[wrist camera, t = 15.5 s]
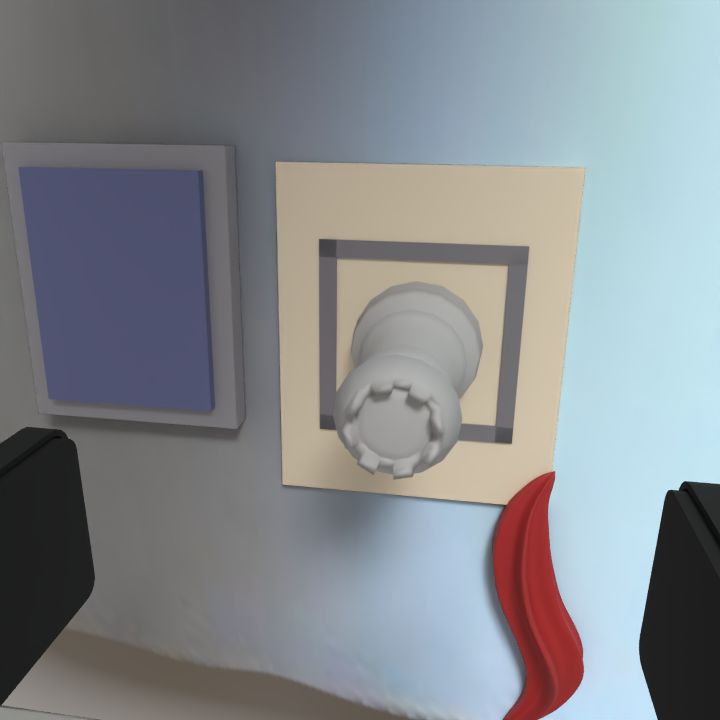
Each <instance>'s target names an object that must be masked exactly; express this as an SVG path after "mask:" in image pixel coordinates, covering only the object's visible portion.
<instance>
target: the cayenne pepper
mask: <svg viewBox="0 0 720 720" xmlns="http://www.w3.org/2000/svg"><path fill="white" fill-rule="evenodd" d="M554 481H555V471H554V472H549V473H546V474H543V475H541V476H539V477H537V478H535V479H534V480H532V481H531V482H529V483H528V484H527V485H526V486H524V487H523V488H522V489H521V490H520V491H519V492H518V493H516V494H515V495H514V496H513V497H512V499H511V500H510V501H509V502H508V504H507V505H506V507H505V508H504V510H503V512H502V514H501V516H500V519H499V521H498V524H497V527H496V531H495V534H494V539H493V567H494V576H495V583H496V589H497V593H498V597H499V601H500V603H501V606H502V609H503V612H504V614H505V616H506V619H507V621H508V623H509V626H510V628H511V630H512V632H513V634H514V637H515V639H516V641H517V644H518V646H519V649H520V651H521V654H522V657H523V660H524V663H525V667H526V682H525V686H524V690H523V692H522V694H521V696H520V698H519V700H518V701H517V702H516V704H515V705H514V706H513V708H512V709H511V710H510V711H509V713H508V714H507V715H506V716H505V718H504V719H503V720H538V719H540V718H542V717H544V716H546V715H548V714H550V713H552V712H553V711H555V710H557V709H558V708H559V707H560V706H562V705H563V704H564V703H565V702H566V701H567V700H568V699H569V698H570V697H571V696H572V695H573V694H574V693H575V691H576V690H577V688H578V687H579V685H580V683H581V681H582V678H583V673H584V666H583V660H582V659H583V648H582V643H581V640H580V637H579V634H578V632H577V630H576V627H575V625H574V623H573V621H572V620H571V618H570V616H569V614H568V612H567V610H566V608H565V606H564V604H563V602H562V599H561V597H560V594H559V590H558V587H557V583H556V578H555V574H554V569H553V564H552V559H551V552H550V541H549V526H548V504H549V498H550V494H551V491H552V488H553V484H554Z"/></svg>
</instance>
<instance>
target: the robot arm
mask: <svg viewBox="0 0 720 720" xmlns="http://www.w3.org/2000/svg"><path fill="white" fill-rule="evenodd" d="M94 580H95V573H94V566H93V559H92V552H91V545H90V538H89V531H88V524H87V517H86V510H85V503H84V496H83V489H82V483H81V476H80V469H79V462H78V455H77V449H76V445H75V443H74V441H72V440H71V439H68V437H67V435H66V434H65V432H63V431H62V430H57V429H45V428H32V427H26V428H24V429H21V430H20V431H18V432H17V433H15V434H14V435H12V436H11V437H10V438H8V439H7V440H5V441H4V442H2V443H1V444H0V720H98V719H90V718H84V717H77V716H70V715H64V714H57V713H50V712H43V711H36V710H29V709H22V708H15V707H9V706H2V704H3V702H4V701H5V700H6V699H7V698H8V696H9V695H10V694H11V693H12V691H13V690H14V689H15V688H16V686H17V685H18V684H19V683H20V681H21V680H22V679H23V678H24V677H25V675H26V674H27V673H28V672H29V670H30V669H31V668H32V667H33V665H34V664H35V663H36V662H37V661H38V659H39V658H40V657H41V656H42V654H43V653H44V652H45V651H46V650H47V648H48V647H49V646H50V645H51V643H52V642H53V641H54V640H55V639H56V637H57V636H58V635H59V634H60V632H61V631H62V630H63V629H64V628H65V626H66V625H67V624H68V623H69V621H70V620H71V619H72V618H73V616H74V615H75V614H76V613H77V612H78V610H79V609H80V608H81V607H82V605H83V604H84V603H85V602H86V600H87V599H88V598H89V596H90V594H91V592H92V590H93V586H94ZM639 655H640V662H641V666H642V670H643V673H644V676H645V679H646V683H647V686H648V689H649V692H650V696H651V699H652V702H653V705H654V709H655V712H656V715H657V719H658V720H720V484H711V483H699V482H687V481H684V482H683V483H682V484H681V486H680V488H679V491H677V490H669V491H668V492H667V494H666V497H665V501H664V506H663V512H662V517H661V523H660V528H659V534H658V539H657V545H656V550H655V556H654V561H653V567H652V572H651V578H650V584H649V589H648V595H647V600H646V606H645V611H644V617H643V622H642V628H641V633H640V640H639Z"/></svg>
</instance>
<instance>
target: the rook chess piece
mask: <svg viewBox="0 0 720 720" xmlns="http://www.w3.org/2000/svg"><path fill="white" fill-rule="evenodd" d="M482 350H483V342H482V337H481V332H480V326H479V322H478V320H477V319H476V317H475V316H474V314H473V313H472V311H471V310H470V308H469V307H468V305H467V304H466V302H465V301H464V300H463V299H461V298H460V297H458V296H457V295H455V294H454V293H452V292H451V291H449V290H447V289H446V288H444V287H443V286H439V285H434V284H429V283H423V282H418V281H415V282H410V283H405V284H400V285H395V286H391V287H389V288H388V289H386V290H385V291H383V292H382V293H380V294H379V295H377V296H376V297H374V298H373V299H371V300H370V301H369V303H368V305H367V306H366V308H365V309H364V311H363V312H362V314H361V315H360V317H359V318H358V320H357V323H356V327H355V328H354V334H353V340H352V346H351V356H352V360H353V364H354V368H355V369H354V370H352V371H350V372H349V374H348V375H347V377H346V378H345V380H344V381H343V383H342V384H341V386H340V387H339V389H338V390H337V392H336V398H335V404H334V410H333V418H334V422H335V426H336V429H337V433H338V437H339V439H340V440H341V442H342V443H343V444H344V446H345V449H346V448H347V450H348V451H349V452H350V454H351V455H352V457H354V458H355V459H357V460H358V462H357V465H358V466H360V467H361V468H363V469H365V470H366V471H368V472H369V473H371V474H372V475H374V473H375V471H379V472H383V473H388V474H392V475H393V480H395V479H402V478H409V477H413V475H414V473H421V472H424V471H425V470H427V469H429V468H431V467H432V466H434V465H436V464H438V463H440V462H441V461H443V460H444V459H445V457H446V456H447V455H448V453H449V452H450V451H451V449H452V448H453V447H454V445H455V444H456V443H457V441H458V436H459V432H460V428H461V423H462V419H463V418H462V413H461V408H460V403H459V399H460V398H461V397H462V396H463V394H464V393H465V392H466V390H467V389H468V388H469V386H470V385H471V384H472V382H473V381H474V380H475V378H476V375H477V371H478V367H479V363H480V358H481V354H482Z"/></svg>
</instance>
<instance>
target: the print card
mask: <svg viewBox="0 0 720 720" xmlns="http://www.w3.org/2000/svg"><path fill="white" fill-rule="evenodd" d="M584 177H585V168H584V167H532V166H479V165H426V164H373V163H320V162H276V203H277V249H278V295H279V341H280V387H281V432H282V478H283V485H294V486H305V487H316V488H327V489H338V490H349V491H360V492H371V493H382V494H393V495H404V496H415V497H426V498H437V499H448V500H459V501H470V502H481V503H492V504H503V505H507V504H508V502H509V501H510V500H511V499H512V497H513V496H514V495H515V494H516V493H518V492H519V491H520V490H521V489H522V488H523V487H524V486H526V485H527V484H528V483H529V482H531V481H532V480H534V479H535V478H537V477H539V476H541V475H543V474H546V473H549V472H552V468H553V459H554V449H555V440H556V431H557V422H558V413H559V404H560V395H561V386H562V377H563V368H564V359H565V350H566V341H567V331H568V322H569V313H570V304H571V295H572V286H573V277H574V268H575V259H576V250H577V241H578V232H579V223H580V213H581V204H582V195H583V186H584ZM415 281H418V282H423V283H429V284H434V285H439V286H443V287H444V288H446V289H447V290H449V291H451V292H452V293H454V294H455V295H457V296H458V297H460V298H461V299H463V300H464V301H465V302H466V304H467V305H468V307H469V308H470V310H471V311H472V313H473V314H474V316H475V317H476V319H477V320H478V322H479V326H480V332H481V337H482V342H483V350H482V354H481V358H480V363H479V367H478V371H477V375H476V378H475V380H474V381H473V382H472V384H471V385H470V386H469V388H468V389H467V390H466V392H465V393H464V394H463V396H462V397H461V398H460V399H459V403H460V408H461V413H462V418H463V419H462V423H461V428H460V432H459V436H458V441H457V443H456V444H455V445H454V447H453V448H452V449H451V451H450V452H449V453H448V455H447V456H446V457H445V459H444V460H443V461H441V462H440V463H438V464H436V465H434V466H432V467H431V468H429V469H427V470H425V471H424V472H421V473H414V475H413V477H409V478H402V479H395V480H393V475H392V474H388V473H383V472H379V471H375V473H374V475H372V474H371V473H369V472H368V471H366V470H365V469H363V468H361V467H360V466H358V465H357V462H358V460H357V459H355V458H354V457H352V455H351V454H350V452H349V451H348V450H347V448H346V449H345V446H344V444H343V443H342V442H341V440H340V439H339V437H338V433H337V429H336V426H335V422H334V418H333V410H334V404H335V398H336V392H337V390H338V389H339V387H340V386H341V384H342V383H343V381H344V380H345V378H346V377H347V375H348V374H349V372H350V371H352V370H354V369H355V368H354V364H353V360H352V356H351V346H352V340H353V334H354V328H355V327H356V323H357V320H358V318H359V317H360V315H361V314H362V312H363V311H364V309H365V308H366V306H367V305H368V303H369V301H370V300H371V299H373V298H374V297H376V296H377V295H379V294H380V293H382V292H383V291H385V290H386V289H388V288H389V287H391V286H395V285H400V284H405V283H410V282H415Z"/></svg>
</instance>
